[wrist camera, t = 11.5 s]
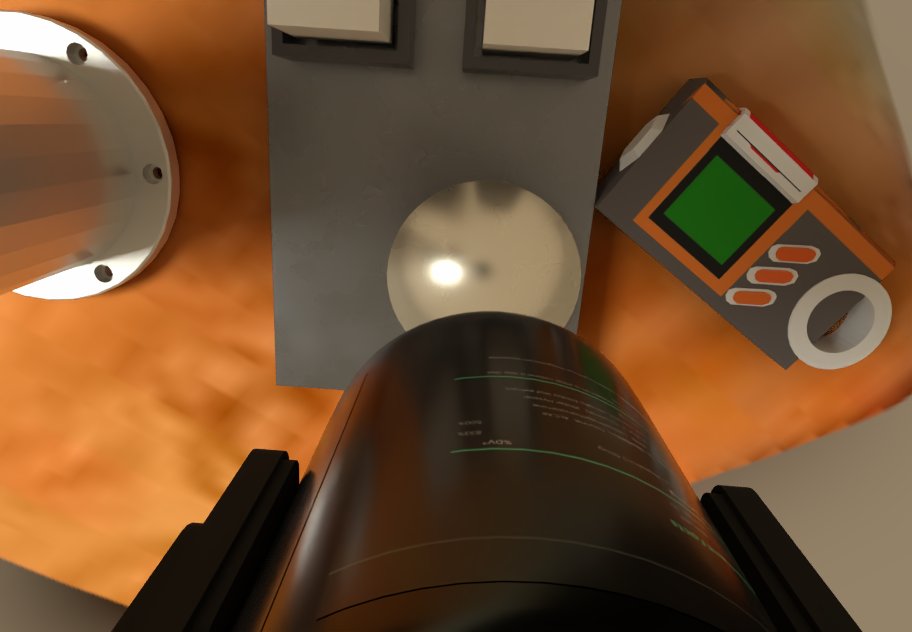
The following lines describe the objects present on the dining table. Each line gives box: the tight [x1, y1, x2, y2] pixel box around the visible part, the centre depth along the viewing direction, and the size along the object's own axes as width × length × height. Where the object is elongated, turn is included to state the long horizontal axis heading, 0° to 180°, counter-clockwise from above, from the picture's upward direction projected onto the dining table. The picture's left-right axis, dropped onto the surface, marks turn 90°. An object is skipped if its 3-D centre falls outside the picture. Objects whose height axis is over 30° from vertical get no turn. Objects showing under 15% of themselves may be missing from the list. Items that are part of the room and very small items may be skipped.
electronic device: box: [594, 78, 895, 370], centre depth 27 cm, size 7×3×15 cm
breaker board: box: [264, 0, 622, 390], centre depth 25 cm, size 14×22×4 cm, turn 176°
